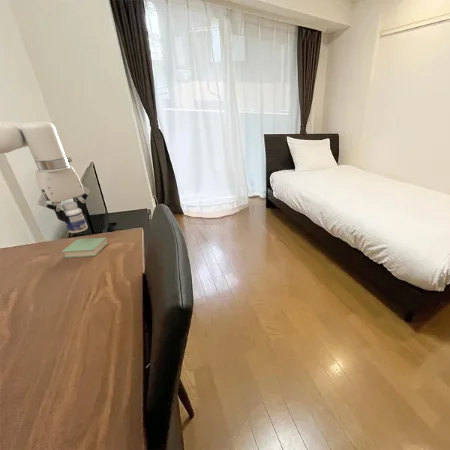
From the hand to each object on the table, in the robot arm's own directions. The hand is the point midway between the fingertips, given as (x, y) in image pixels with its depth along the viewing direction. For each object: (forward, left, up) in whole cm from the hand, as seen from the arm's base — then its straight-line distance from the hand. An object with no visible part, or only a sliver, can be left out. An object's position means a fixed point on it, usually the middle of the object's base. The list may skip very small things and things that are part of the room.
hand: (73, 216), depth 92 cm
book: (0, 0, -13) cm, 13 cm away
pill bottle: (0, 0, -5) cm, 5 cm away
